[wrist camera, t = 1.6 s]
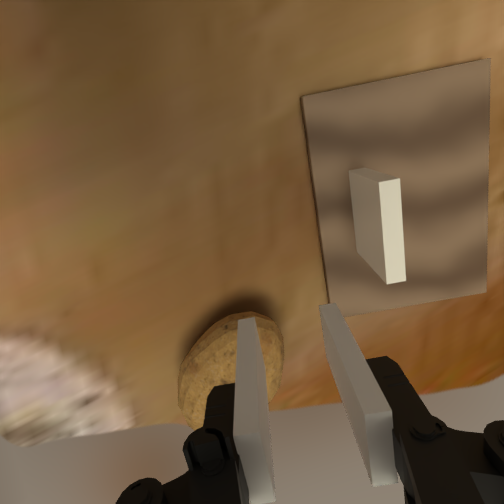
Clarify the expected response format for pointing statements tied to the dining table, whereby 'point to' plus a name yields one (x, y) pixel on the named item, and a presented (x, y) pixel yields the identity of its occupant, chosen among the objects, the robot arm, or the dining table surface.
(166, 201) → the dining table surface
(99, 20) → the dining table surface
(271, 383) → the potato
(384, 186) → the tile
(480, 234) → the board
